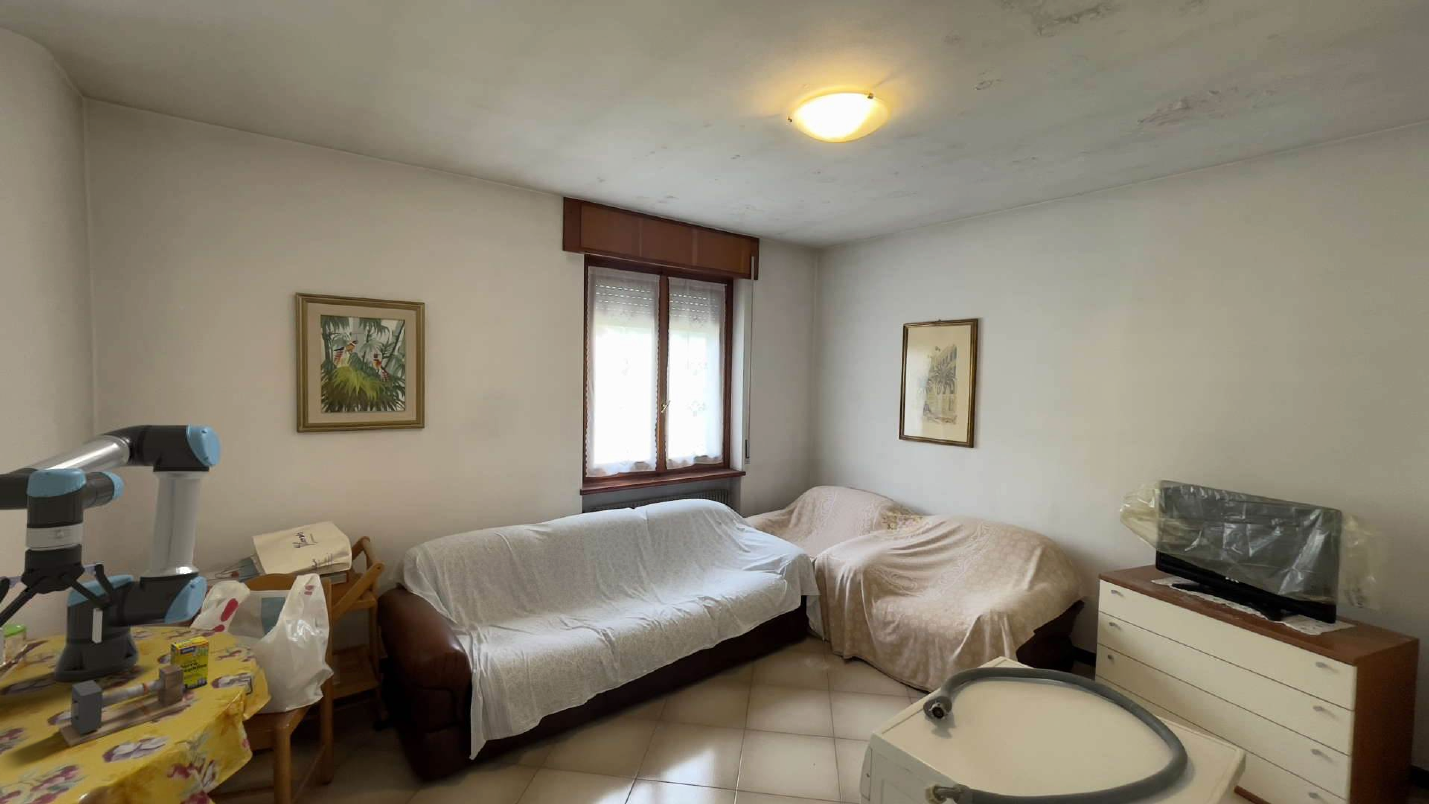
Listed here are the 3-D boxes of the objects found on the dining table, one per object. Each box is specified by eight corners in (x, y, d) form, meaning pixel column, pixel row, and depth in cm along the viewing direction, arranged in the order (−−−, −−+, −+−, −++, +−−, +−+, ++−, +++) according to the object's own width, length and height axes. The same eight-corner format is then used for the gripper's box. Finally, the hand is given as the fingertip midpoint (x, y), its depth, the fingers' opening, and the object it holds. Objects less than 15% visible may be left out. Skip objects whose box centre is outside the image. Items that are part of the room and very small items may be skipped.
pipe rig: (70, 746, 116) (72, 705, 116) (58, 730, 121) (60, 691, 121) (185, 708, 131) (187, 672, 131) (171, 695, 136) (172, 660, 136)
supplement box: (176, 694, 137) (178, 649, 137) (168, 686, 140) (170, 643, 141) (208, 684, 142) (209, 641, 142) (199, 677, 146) (201, 635, 146)
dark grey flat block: (80, 734, 118) (81, 696, 118) (70, 722, 122) (72, 685, 122) (101, 727, 120) (102, 690, 120) (91, 716, 124) (92, 679, 124)
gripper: (-44, 562, 102) (-49, 681, 101) (144, 537, 122) (140, 636, 122) (-50, 555, 105) (-55, 669, 105) (133, 532, 126) (129, 628, 126)
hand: (49, 651), depth 114 cm, fingers open, 12 cm apart
